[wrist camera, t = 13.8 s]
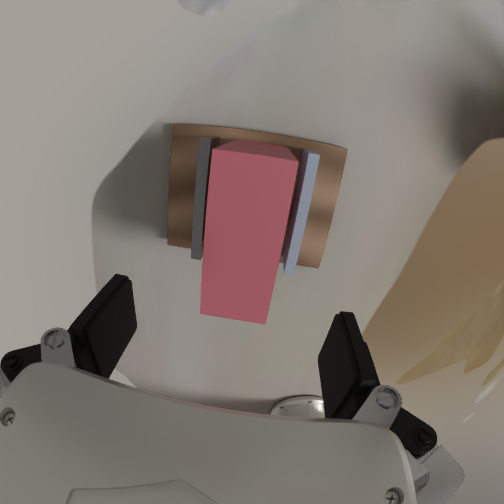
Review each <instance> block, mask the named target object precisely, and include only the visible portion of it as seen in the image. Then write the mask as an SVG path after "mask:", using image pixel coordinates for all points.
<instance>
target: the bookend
mask: <svg viewBox="0 0 504 504" xmlns="http://www.w3.org/2000/svg"><path fill="white" fill-rule="evenodd" d="M218 145H219V136H205V137H200V143H199V152H198V162H197V173H196V185H195V198H194V212H193V229H192V249H191V258H192V259H198V260H201V258H202V256H203V248H204V234H205V221H206V209H207V198H208V187H209V177H210V167H211V158H212V149H214V148H216V147H218Z"/></svg>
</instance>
